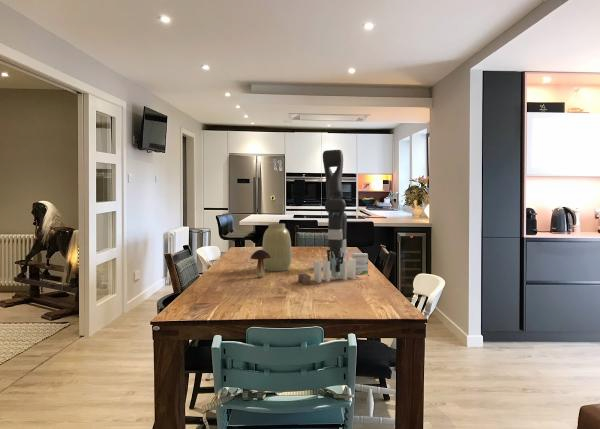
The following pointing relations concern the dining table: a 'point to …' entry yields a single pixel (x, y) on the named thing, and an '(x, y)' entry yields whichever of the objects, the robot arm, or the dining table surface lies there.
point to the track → (306, 280)
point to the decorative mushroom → (260, 261)
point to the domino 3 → (333, 272)
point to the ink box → (361, 262)
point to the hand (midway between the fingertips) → (335, 271)
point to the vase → (277, 247)
